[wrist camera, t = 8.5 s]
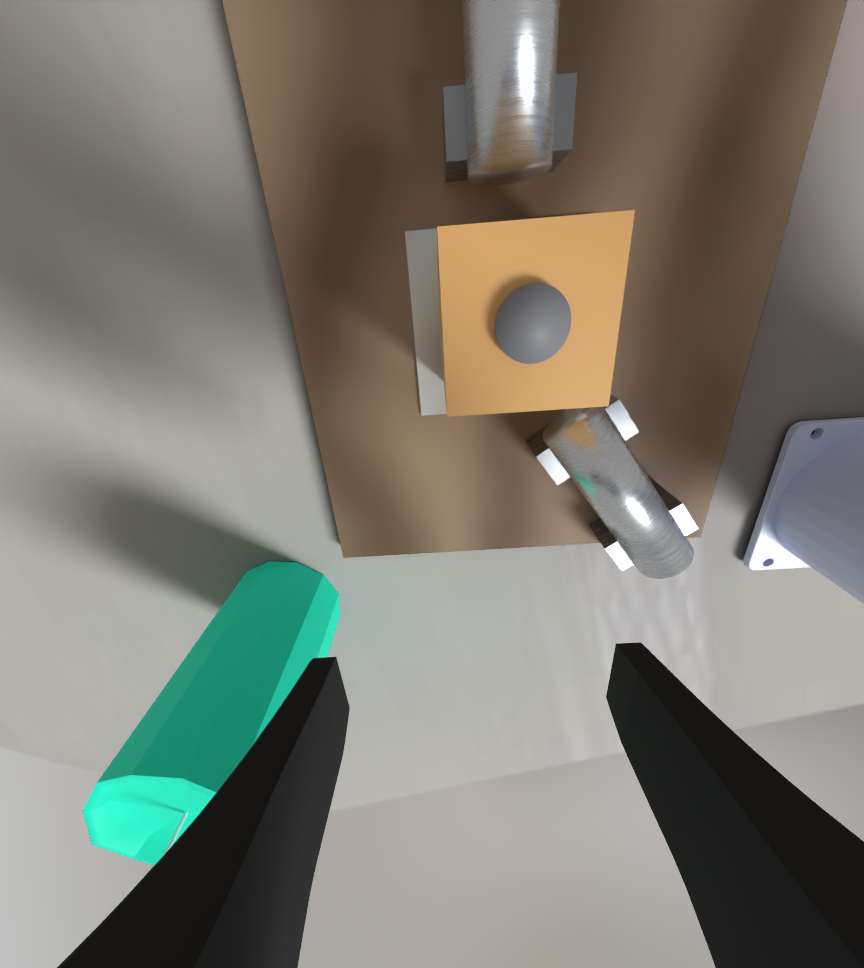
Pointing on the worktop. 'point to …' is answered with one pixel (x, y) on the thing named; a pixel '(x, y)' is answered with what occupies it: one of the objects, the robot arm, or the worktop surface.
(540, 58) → the shaft
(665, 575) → the shaft
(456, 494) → the board
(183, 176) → the worktop surface
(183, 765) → the candle
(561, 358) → the tan wooden block
